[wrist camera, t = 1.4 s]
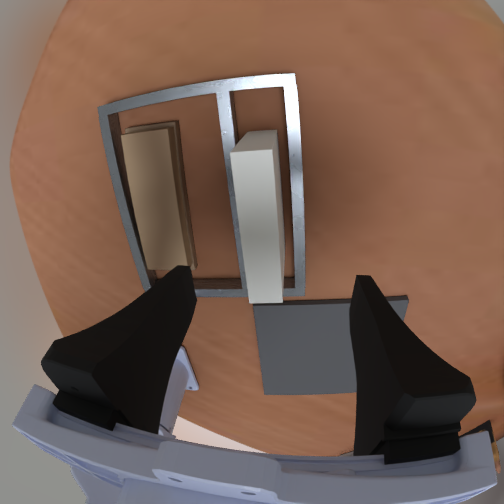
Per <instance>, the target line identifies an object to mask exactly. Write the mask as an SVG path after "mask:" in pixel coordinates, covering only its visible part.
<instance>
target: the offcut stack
mask: <svg viewBox="0 0 504 504" xmlns="http://www.w3.org/2000/svg"><path fill="white" fill-rule="evenodd" d="M121 139H122V146H123V152H124V159H125V165H126V170H127V176H128V182H129V187H130V192H131V198H132V203H133V208H134V212H135V217H136V222H137V226H138V231H139V235H140V239H141V244H142V248H143V252H144V256H145V260H146V264H147V268H148V269H150V270H172V269H173V268H174V267H176V266H177V265H184V266H190V268H191V270H195V269H196V267H197V259H196V253H195V246H194V240H193V233H192V226H191V219H190V212H189V205H188V197H187V190H186V182H185V174H184V165H183V157H182V148H181V139H180V129H179V121H170V122H162V123H154V124H147V125H141V126H134V127H129V128H126V129H125V134H123V135H121Z"/></svg>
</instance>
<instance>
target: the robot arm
mask: <svg viewBox="0 0 504 504" xmlns="http://www.w3.org/2000/svg"><path fill="white" fill-rule="evenodd" d="M196 302H197V298H196V293H195V288H194V283H193V278H192V273H191V268H190V266H184V265H177V266H176V267H174V268H173V269H172V270H171V271H170V272H168V273H167V274H166V275H165V276H164V277H163V278H162V279H160V280H159V281H158V282H157V283H156V284H154V285H153V286H152V287H151V288H150V289H149V290H147V291H146V292H145V293H143V294H142V295H141V296H140V297H138V298H137V299H136V300H134V301H133V302H132V303H130V304H129V305H128V306H126V307H125V308H123V309H122V310H120V311H119V312H117V313H115V314H114V315H112V316H110V317H109V318H107V319H105V320H103V321H101V322H99V323H98V324H96V325H94V326H92V327H89V328H87V329H85V330H83V331H80V332H78V333H75V334H73V335H70V336H67V337H64V338H61V339H58V340H55V341H54V342H53V344H52V345H51V347H50V348H49V350H48V351H47V353H46V354H45V356H44V357H43V359H42V361H41V365H42V368H43V370H44V372H45V373H46V375H47V376H48V377H49V378H50V379H51V381H52V382H53V383H54V384H55V386H56V387H57V388H58V389H59V392H58V393H57V395H56V394H54V393H53V392H51V391H49V390H47V389H45V388H43V387H40V386H38V385H36V384H35V385H34V386H33V387H32V389H31V391H30V393H29V394H28V396H27V398H26V399H25V402H24V403H23V405H22V407H21V409H20V411H19V412H18V414H17V416H16V418H15V420H14V422H13V424H12V426H13V427H14V428H15V429H17V430H18V431H19V432H20V433H21V434H22V435H24V436H25V437H26V438H27V439H29V440H30V441H31V442H32V443H34V444H35V445H36V446H38V447H39V448H40V449H42V450H43V451H45V452H47V453H49V454H50V455H52V456H54V457H56V458H58V459H60V460H62V461H63V462H65V463H67V464H69V465H70V467H71V474H72V476H73V478H74V479H75V481H76V482H77V483H78V485H79V487H80V488H81V489H82V491H83V492H84V494H85V495H86V497H87V499H86V502H85V504H456V503H459V502H463V501H465V500H467V499H470V498H472V497H474V496H476V495H478V494H480V493H482V492H483V491H485V490H487V489H489V488H491V487H493V486H495V485H496V484H497V477H496V470H495V463H494V457H493V452H492V447H491V441H490V437H489V432H488V431H483V432H479V433H474V434H470V435H466V436H463V437H461V438H460V439H459V436H458V432H459V431H460V430H461V425H460V421H461V420H462V419H463V418H464V417H465V416H466V415H467V413H468V412H469V411H470V410H471V409H472V408H473V406H474V405H475V403H476V396H475V392H474V388H473V385H472V382H471V379H470V377H468V376H467V375H465V374H464V373H462V372H460V371H459V370H457V369H456V368H454V367H452V366H451V365H450V364H448V363H447V362H446V361H444V360H443V359H442V358H440V357H439V356H438V355H437V354H435V353H434V352H433V351H432V350H431V349H430V348H429V347H427V346H426V345H425V344H424V343H423V342H422V341H421V340H420V339H419V338H418V337H417V336H416V335H415V334H414V333H413V332H412V331H411V330H410V329H409V328H408V326H407V325H406V324H405V323H404V322H403V320H402V319H401V318H400V317H399V316H398V314H397V313H396V312H395V310H394V309H393V308H392V306H391V305H390V303H389V302H388V301H387V299H386V298H385V296H384V295H383V293H382V292H381V291H380V289H379V288H378V286H377V285H376V283H375V281H374V280H373V279H372V277H371V276H368V275H356V280H355V285H354V290H353V295H352V299H351V304H350V308H349V323H350V335H351V342H352V349H353V356H354V363H355V370H356V382H357V404H356V428H355V441H354V451H353V456H338V457H324V456H293V455H278V454H267V453H256V452H247V451H239V450H232V449H226V448H220V447H214V446H208V445H202V444H197V443H192V442H187V441H182V440H178V439H175V438H176V436H174V435H172V432H173V429H174V425H175V422H176V419H177V415H178V412H179V409H180V405H181V402H182V399H183V396H184V392H185V389H187V390H198V389H199V385H198V383H197V380H196V378H195V375H194V372H193V370H192V367H191V364H190V362H189V359H188V356H187V354H186V351H185V348H184V347H182V346H181V345H182V342H183V340H184V337H185V335H186V333H187V330H188V328H189V325H190V323H191V320H192V317H193V314H194V310H195V306H196Z"/></svg>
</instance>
